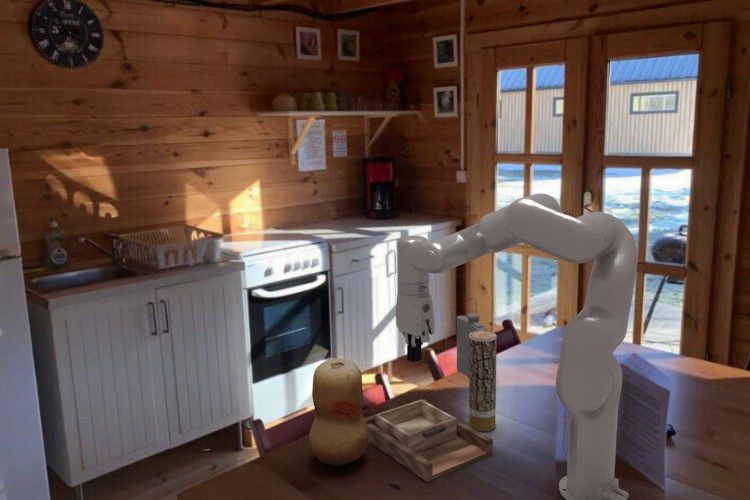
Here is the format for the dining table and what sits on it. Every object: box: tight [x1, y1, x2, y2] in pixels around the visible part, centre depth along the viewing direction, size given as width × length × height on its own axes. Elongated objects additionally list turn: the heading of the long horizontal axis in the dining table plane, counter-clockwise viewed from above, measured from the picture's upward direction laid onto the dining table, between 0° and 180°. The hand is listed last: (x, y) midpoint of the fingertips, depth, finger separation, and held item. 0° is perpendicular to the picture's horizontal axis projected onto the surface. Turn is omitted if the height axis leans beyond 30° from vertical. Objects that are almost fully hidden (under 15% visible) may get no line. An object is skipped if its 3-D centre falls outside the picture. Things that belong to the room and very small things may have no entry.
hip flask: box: [456, 313, 488, 378], centre depth 202 cm, size 16×4×20 cm, turn 20°
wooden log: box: [468, 330, 498, 433], centre depth 168 cm, size 7×7×25 cm
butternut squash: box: [308, 357, 370, 467], centre depth 153 cm, size 14×13×25 cm
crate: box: [374, 399, 458, 452], centre depth 164 cm, size 15×15×5 cm
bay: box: [364, 398, 494, 483], centre depth 161 cm, size 26×20×5 cm
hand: (414, 360), depth 161 cm, fingers closed
